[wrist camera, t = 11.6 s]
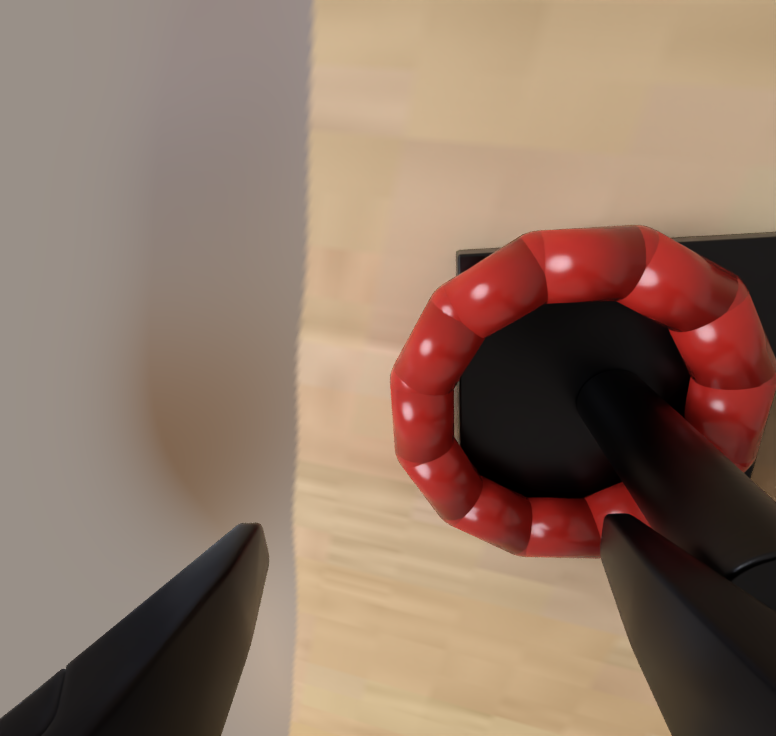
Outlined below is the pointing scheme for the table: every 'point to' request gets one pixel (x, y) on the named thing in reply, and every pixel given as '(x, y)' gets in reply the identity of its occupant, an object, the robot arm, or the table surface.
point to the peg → (622, 417)
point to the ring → (572, 285)
